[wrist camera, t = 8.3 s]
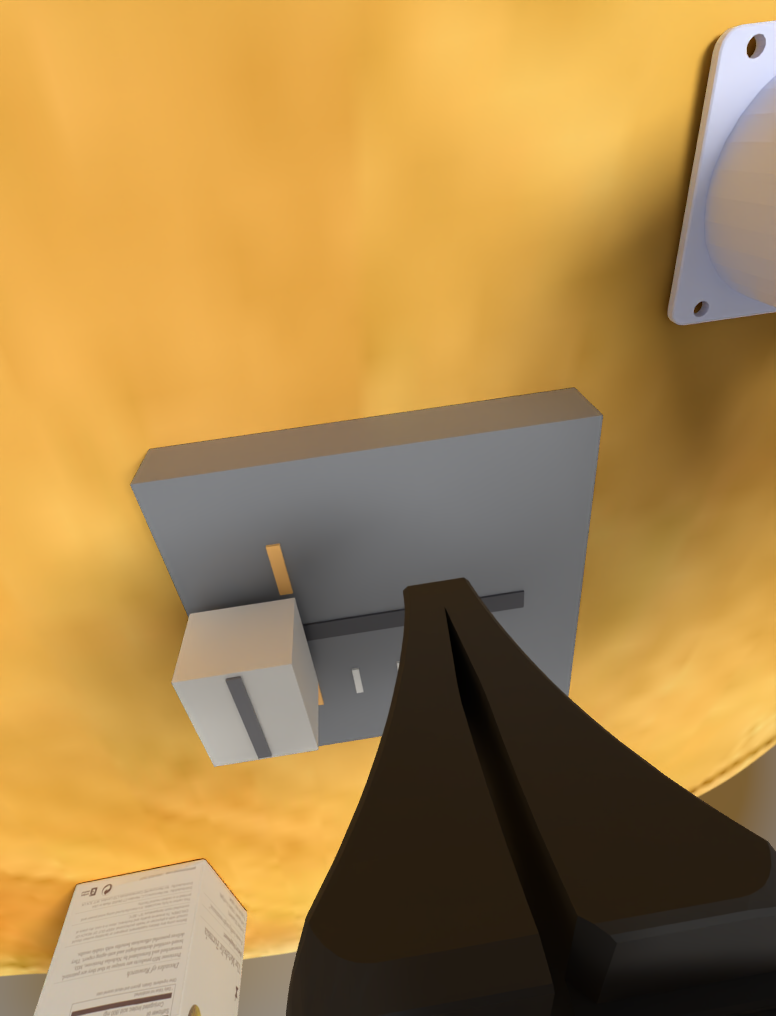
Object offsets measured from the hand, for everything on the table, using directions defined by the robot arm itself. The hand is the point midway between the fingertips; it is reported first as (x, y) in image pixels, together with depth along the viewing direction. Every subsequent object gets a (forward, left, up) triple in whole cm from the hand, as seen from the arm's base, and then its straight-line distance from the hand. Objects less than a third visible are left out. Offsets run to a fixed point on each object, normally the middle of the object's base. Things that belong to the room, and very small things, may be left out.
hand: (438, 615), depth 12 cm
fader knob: (+6, +8, -8) cm, 13 cm away
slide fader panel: (+1, +8, -10) cm, 13 cm away
